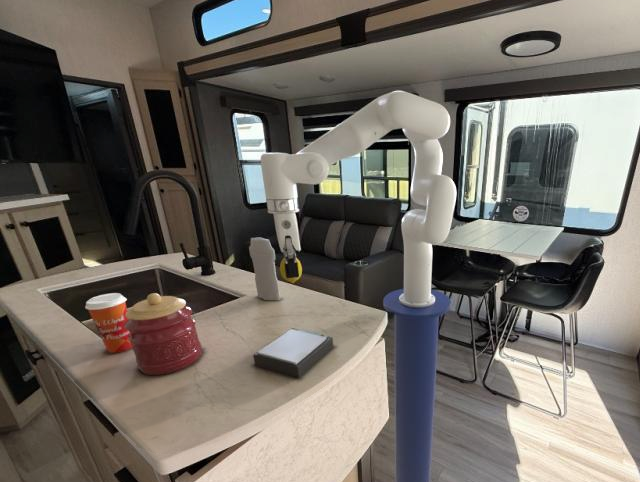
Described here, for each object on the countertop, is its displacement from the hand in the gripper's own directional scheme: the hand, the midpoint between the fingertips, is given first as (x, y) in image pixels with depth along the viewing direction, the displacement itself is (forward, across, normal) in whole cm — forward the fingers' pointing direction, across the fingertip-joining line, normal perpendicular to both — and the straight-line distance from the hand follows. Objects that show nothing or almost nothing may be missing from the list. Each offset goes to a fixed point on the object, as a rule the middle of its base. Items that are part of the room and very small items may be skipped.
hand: (291, 273), depth 86 cm
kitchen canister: (+17, -4, +30) cm, 35 cm away
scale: (+17, -14, +2) cm, 22 cm away
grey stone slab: (+18, +28, +8) cm, 34 cm away
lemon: (+3, 0, 0) cm, 3 cm away
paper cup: (+17, +7, +44) cm, 48 cm away
